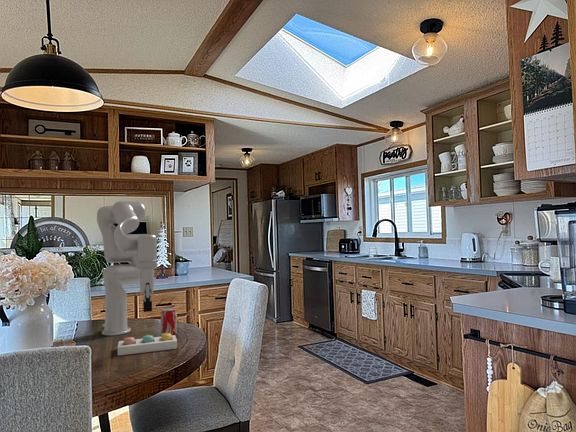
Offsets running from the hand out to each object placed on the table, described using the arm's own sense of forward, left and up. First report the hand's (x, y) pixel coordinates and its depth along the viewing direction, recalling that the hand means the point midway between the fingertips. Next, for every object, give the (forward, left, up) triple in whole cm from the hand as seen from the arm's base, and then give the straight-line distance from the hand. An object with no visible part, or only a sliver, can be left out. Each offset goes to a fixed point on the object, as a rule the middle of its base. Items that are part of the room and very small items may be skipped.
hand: (147, 309), depth 162 cm
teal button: (0, 0, -14) cm, 14 cm away
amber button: (+4, +5, -14) cm, 15 cm away
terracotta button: (-5, -5, -14) cm, 15 cm away
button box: (0, 0, -15) cm, 15 cm away
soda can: (-7, +18, -16) cm, 25 cm away
